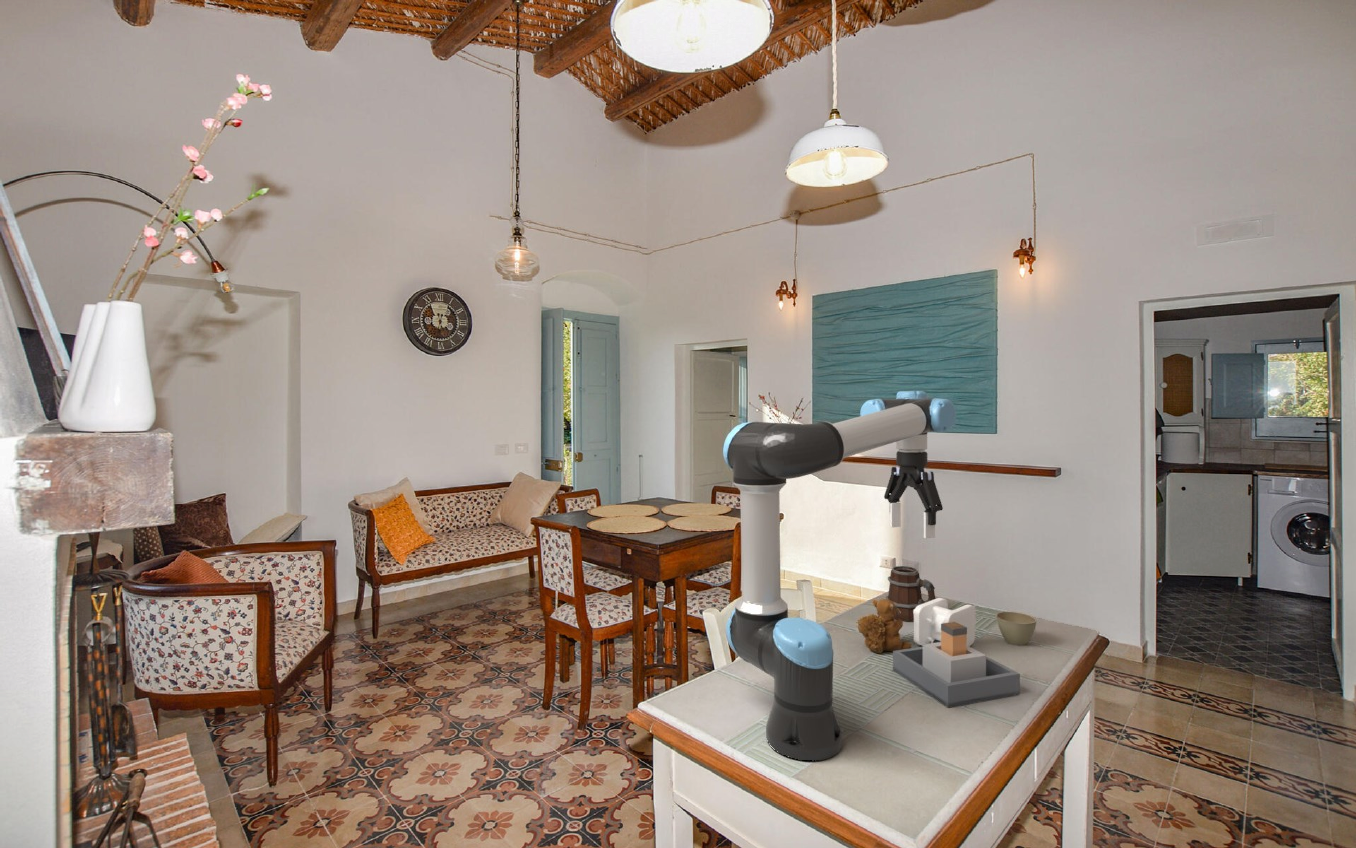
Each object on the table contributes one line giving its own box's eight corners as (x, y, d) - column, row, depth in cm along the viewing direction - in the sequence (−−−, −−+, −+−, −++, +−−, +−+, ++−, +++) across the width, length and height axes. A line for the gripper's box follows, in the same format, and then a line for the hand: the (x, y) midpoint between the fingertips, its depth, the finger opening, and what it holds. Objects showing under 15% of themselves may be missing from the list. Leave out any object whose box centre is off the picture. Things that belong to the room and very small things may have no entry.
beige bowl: (1036, 639, 174) (1037, 615, 174) (1035, 652, 166) (1035, 626, 166) (997, 632, 180) (997, 609, 180) (994, 644, 171) (994, 619, 171)
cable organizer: (947, 659, 162) (947, 616, 162) (911, 646, 171) (911, 605, 170) (976, 645, 171) (976, 604, 171) (940, 634, 180) (940, 595, 179)
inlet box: (948, 708, 137) (948, 672, 136) (893, 670, 156) (893, 639, 156) (1019, 694, 142) (1020, 661, 142) (958, 660, 161) (958, 630, 161)
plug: (952, 670, 146) (952, 629, 146) (940, 663, 150) (940, 623, 150) (966, 668, 148) (966, 627, 147) (954, 661, 151) (954, 621, 151)
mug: (879, 616, 195) (879, 569, 194) (896, 606, 204) (896, 562, 203) (928, 628, 184) (928, 579, 183) (943, 618, 192) (944, 571, 192)
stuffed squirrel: (913, 648, 169) (913, 601, 169) (879, 660, 162) (879, 611, 161) (884, 637, 178) (884, 592, 177) (850, 648, 170) (850, 601, 170)
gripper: (958, 454, 147) (958, 541, 147) (894, 446, 171) (894, 522, 171) (932, 455, 145) (932, 543, 145) (871, 447, 169) (871, 523, 169)
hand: (911, 532), depth 158 cm, fingers open, 13 cm apart
